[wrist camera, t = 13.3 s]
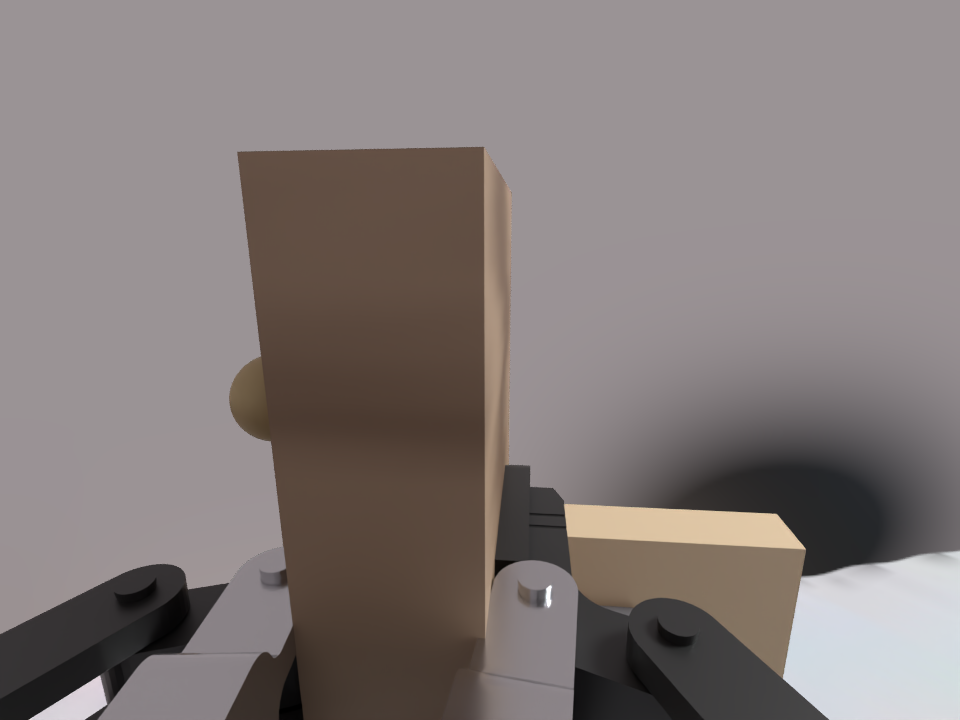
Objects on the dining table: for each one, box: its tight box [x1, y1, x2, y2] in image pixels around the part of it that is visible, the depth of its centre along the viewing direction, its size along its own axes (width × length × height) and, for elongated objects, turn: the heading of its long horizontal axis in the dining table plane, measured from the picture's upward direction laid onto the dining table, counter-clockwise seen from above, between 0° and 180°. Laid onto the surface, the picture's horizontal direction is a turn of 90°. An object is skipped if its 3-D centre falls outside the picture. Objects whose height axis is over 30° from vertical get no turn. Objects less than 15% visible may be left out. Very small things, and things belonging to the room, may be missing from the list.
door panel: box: [229, 147, 512, 720], centre depth 10 cm, size 7×4×16 cm, turn 174°
